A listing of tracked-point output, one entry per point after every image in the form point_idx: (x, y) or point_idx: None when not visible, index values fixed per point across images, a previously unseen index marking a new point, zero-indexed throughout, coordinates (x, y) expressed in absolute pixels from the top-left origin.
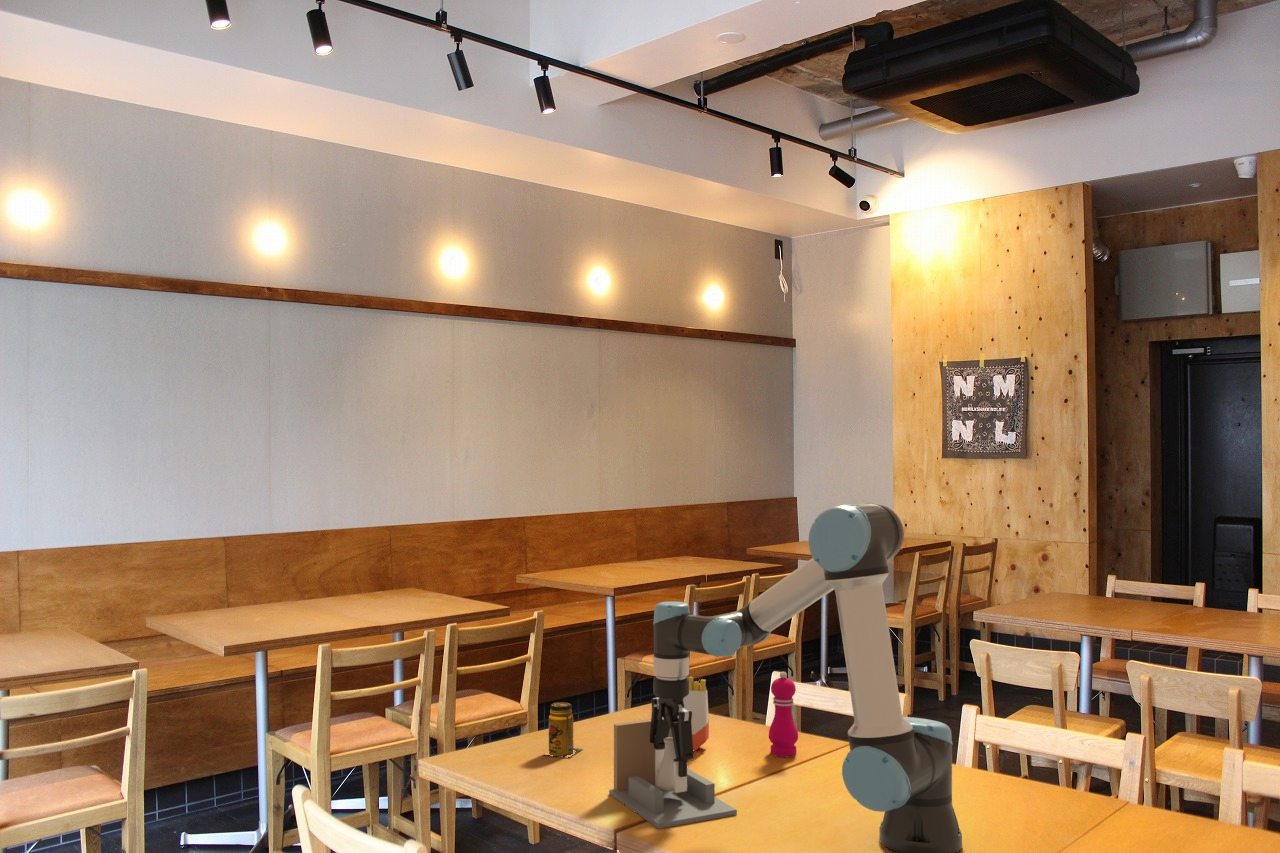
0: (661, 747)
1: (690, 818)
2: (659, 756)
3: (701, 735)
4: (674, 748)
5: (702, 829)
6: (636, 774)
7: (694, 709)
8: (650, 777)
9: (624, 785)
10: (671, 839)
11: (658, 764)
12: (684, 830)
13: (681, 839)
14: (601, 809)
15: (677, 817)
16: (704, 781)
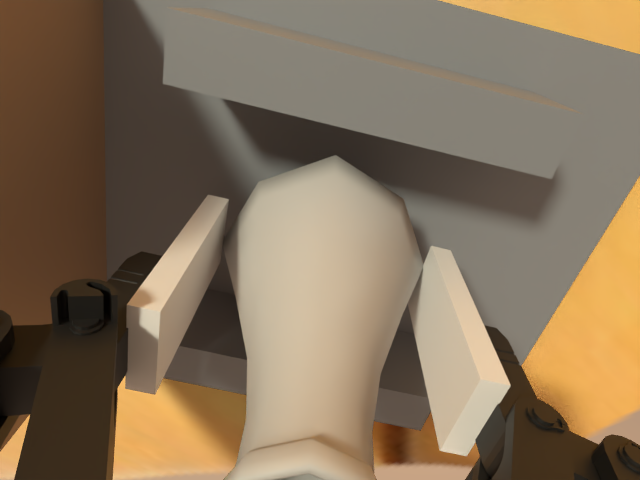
0: (122, 355)
1: (555, 308)
2: (174, 340)
3: None
4: (370, 455)
5: (627, 306)
6: (70, 272)
7: None
8: (82, 184)
9: None
10: (581, 419)
11: (193, 311)
12: (571, 352)
13: (611, 403)
14: (215, 406)
15: (507, 337)
16: (497, 137)
